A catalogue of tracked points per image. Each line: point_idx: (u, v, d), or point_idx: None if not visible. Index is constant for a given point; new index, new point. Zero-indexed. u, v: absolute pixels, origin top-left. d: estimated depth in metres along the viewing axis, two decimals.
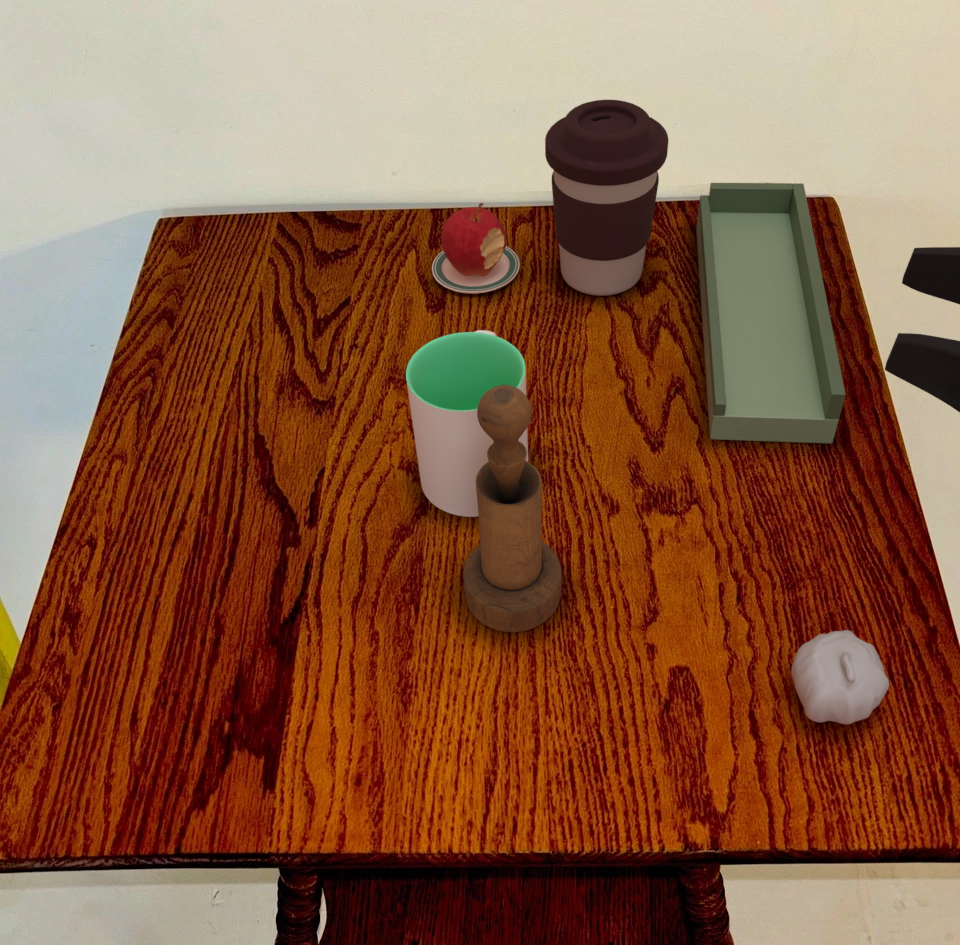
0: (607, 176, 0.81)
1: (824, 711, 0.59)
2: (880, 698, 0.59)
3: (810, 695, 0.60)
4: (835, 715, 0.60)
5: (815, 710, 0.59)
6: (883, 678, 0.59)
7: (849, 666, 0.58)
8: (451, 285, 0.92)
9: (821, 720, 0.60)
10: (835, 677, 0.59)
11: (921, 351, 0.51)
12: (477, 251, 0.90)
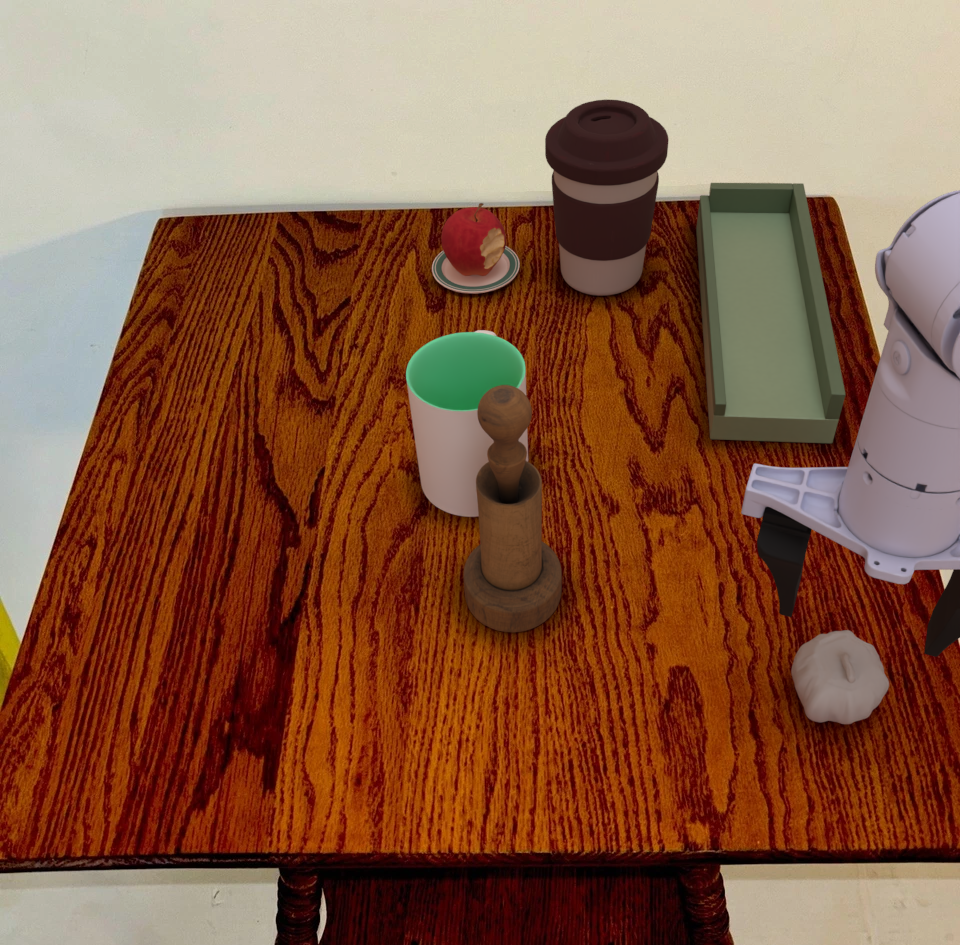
0: (607, 176, 0.81)
1: (824, 711, 0.59)
2: (880, 698, 0.59)
3: (810, 695, 0.60)
4: (835, 715, 0.60)
5: (815, 710, 0.59)
6: (883, 678, 0.59)
7: (849, 666, 0.58)
8: (451, 285, 0.92)
9: (821, 720, 0.60)
10: (835, 677, 0.59)
11: None
12: (477, 251, 0.90)
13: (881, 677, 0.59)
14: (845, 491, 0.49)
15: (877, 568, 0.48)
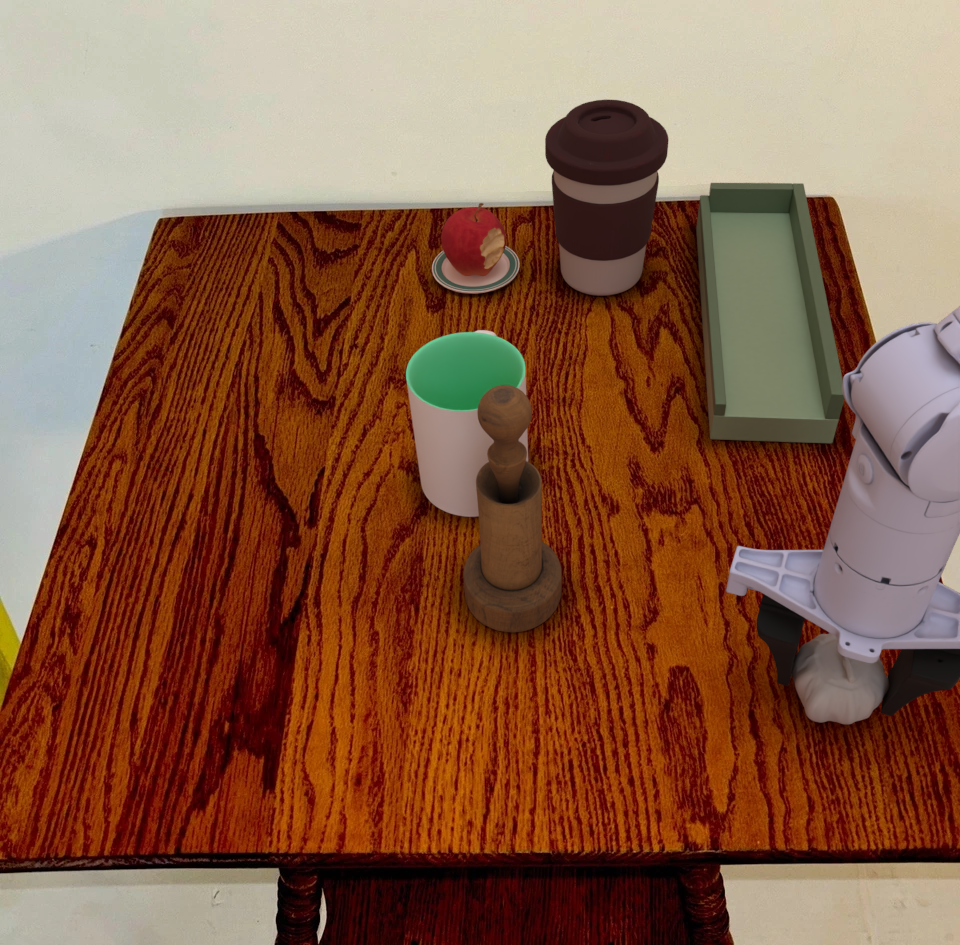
0: (607, 176, 0.81)
1: (824, 711, 0.59)
2: (880, 698, 0.59)
3: (810, 695, 0.59)
4: (836, 715, 0.60)
5: (815, 710, 0.59)
6: (883, 678, 0.59)
7: (849, 666, 0.58)
8: (451, 285, 0.92)
9: (821, 720, 0.60)
10: (835, 677, 0.59)
11: None
12: (477, 251, 0.90)
13: (881, 677, 0.59)
14: (819, 576, 0.54)
15: (848, 648, 0.53)
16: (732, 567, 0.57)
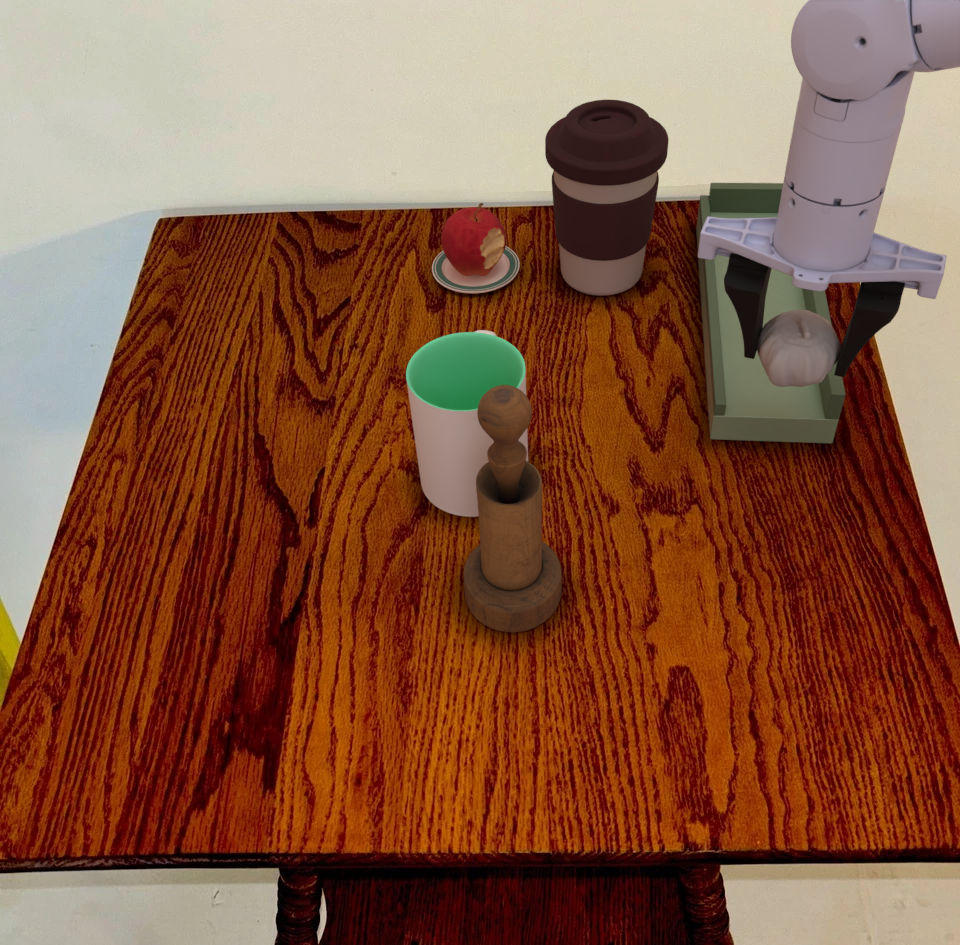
0: (607, 176, 0.81)
1: (784, 369, 0.68)
2: (833, 358, 0.68)
3: (772, 356, 0.68)
4: (795, 374, 0.68)
5: (776, 368, 0.68)
6: (836, 340, 0.68)
7: (806, 324, 0.67)
8: (451, 285, 0.92)
9: (782, 381, 0.69)
10: (794, 337, 0.67)
11: None
12: (477, 251, 0.90)
13: (834, 339, 0.68)
14: (777, 224, 0.63)
15: (801, 278, 0.61)
16: (702, 230, 0.65)
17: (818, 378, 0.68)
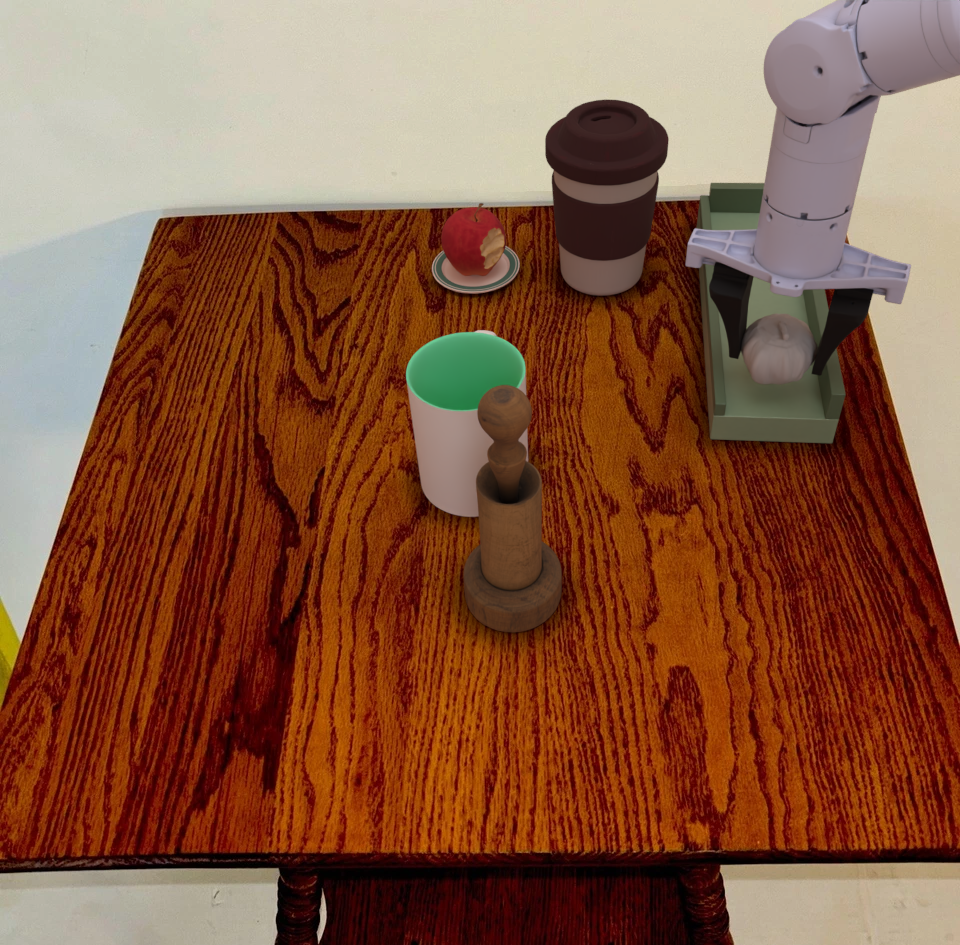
0: (607, 176, 0.81)
1: (765, 368, 0.74)
2: (810, 358, 0.74)
3: (754, 356, 0.74)
4: (775, 373, 0.74)
5: (758, 367, 0.74)
6: (813, 342, 0.74)
7: (784, 327, 0.73)
8: (451, 285, 0.92)
9: (763, 379, 0.75)
10: (774, 339, 0.74)
11: None
12: (477, 251, 0.90)
13: (811, 340, 0.74)
14: (757, 236, 0.69)
15: (778, 285, 0.67)
16: (689, 241, 0.71)
17: (796, 376, 0.75)
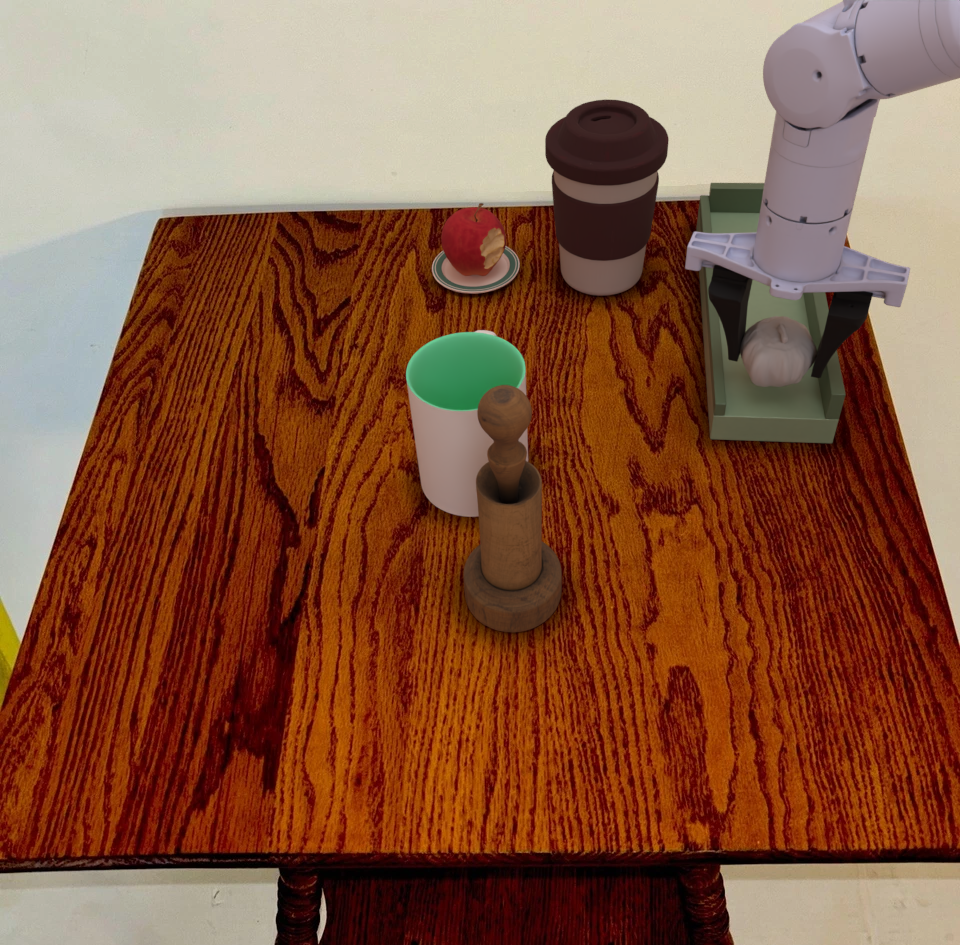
0: (607, 176, 0.81)
1: (764, 370, 0.74)
2: (809, 361, 0.74)
3: (753, 358, 0.74)
4: (774, 375, 0.74)
5: (757, 369, 0.74)
6: (812, 344, 0.74)
7: (783, 330, 0.73)
8: (451, 285, 0.92)
9: (763, 381, 0.75)
10: (773, 342, 0.74)
11: None
12: (477, 251, 0.90)
13: (810, 343, 0.74)
14: (756, 239, 0.69)
15: (777, 288, 0.68)
16: (689, 244, 0.72)
17: (795, 379, 0.75)
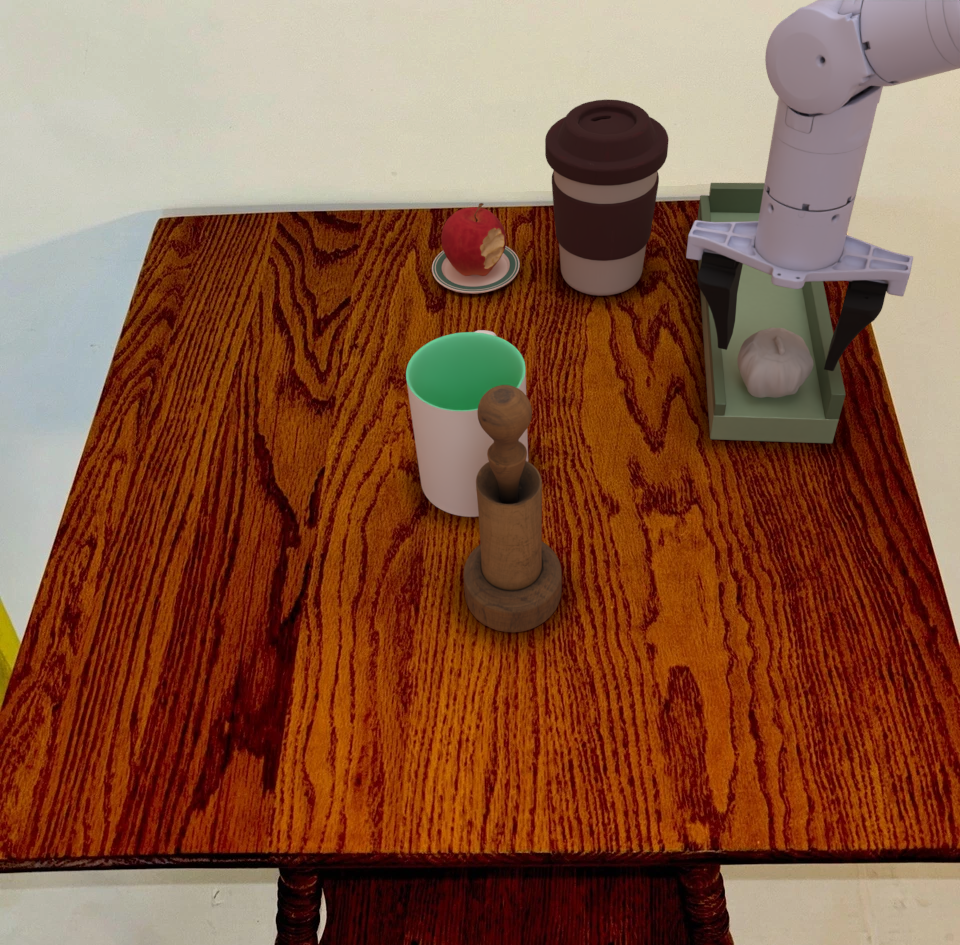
0: (607, 176, 0.81)
1: (761, 382, 0.75)
2: (806, 372, 0.75)
3: (750, 370, 0.75)
4: (771, 386, 0.75)
5: (754, 381, 0.75)
6: (808, 356, 0.75)
7: (780, 342, 0.74)
8: (451, 285, 0.92)
9: (759, 392, 0.76)
10: (770, 353, 0.75)
11: None
12: (477, 251, 0.90)
13: (806, 355, 0.75)
14: (758, 228, 0.68)
15: (779, 277, 0.67)
16: (690, 232, 0.71)
17: (792, 390, 0.76)
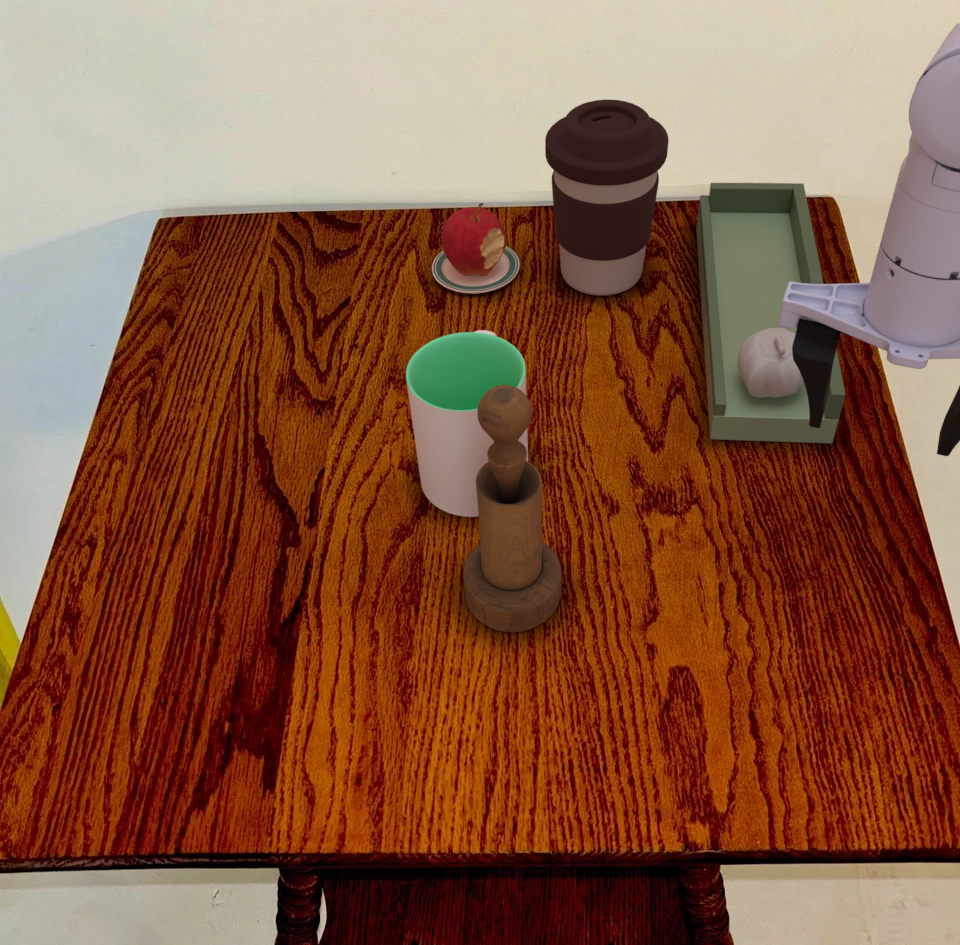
0: (607, 176, 0.81)
1: (761, 382, 0.75)
2: None
3: (750, 370, 0.75)
4: (771, 386, 0.75)
5: (754, 381, 0.75)
6: None
7: (780, 342, 0.74)
8: (451, 285, 0.92)
9: (759, 392, 0.76)
10: (770, 353, 0.75)
11: None
12: (477, 251, 0.90)
13: None
14: (870, 294, 0.57)
15: (898, 355, 0.56)
16: (785, 297, 0.60)
17: (792, 390, 0.76)
